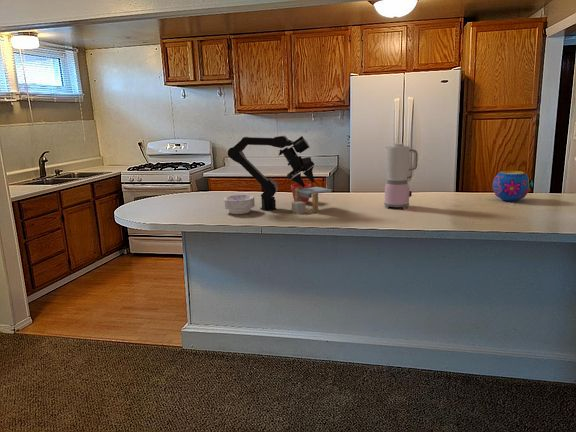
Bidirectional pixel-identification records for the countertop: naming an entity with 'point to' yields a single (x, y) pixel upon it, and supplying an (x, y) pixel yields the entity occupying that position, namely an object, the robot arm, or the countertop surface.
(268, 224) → the countertop surface
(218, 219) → the countertop surface
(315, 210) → the frame
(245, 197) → the paper bowls
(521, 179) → the ceramic pot
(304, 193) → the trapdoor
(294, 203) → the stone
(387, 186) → the blender
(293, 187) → the flower pot
